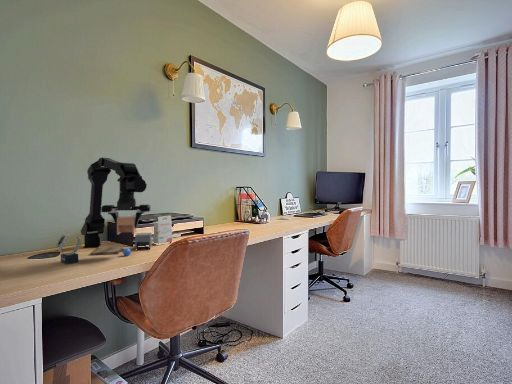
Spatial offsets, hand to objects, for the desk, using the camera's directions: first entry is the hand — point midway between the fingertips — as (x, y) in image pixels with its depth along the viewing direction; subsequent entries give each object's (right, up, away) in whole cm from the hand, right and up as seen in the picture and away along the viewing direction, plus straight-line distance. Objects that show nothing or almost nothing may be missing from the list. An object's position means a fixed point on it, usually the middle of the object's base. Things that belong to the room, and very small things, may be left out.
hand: (126, 228), depth 124 cm
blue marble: (0, -10, 0) cm, 10 cm away
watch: (-18, -12, -11) cm, 24 cm away
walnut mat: (-12, -12, +7) cm, 18 cm away
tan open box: (0, -2, 0) cm, 2 cm away
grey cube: (+1, -12, +15) cm, 19 cm away
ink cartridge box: (+7, -12, +27) cm, 30 cm away
